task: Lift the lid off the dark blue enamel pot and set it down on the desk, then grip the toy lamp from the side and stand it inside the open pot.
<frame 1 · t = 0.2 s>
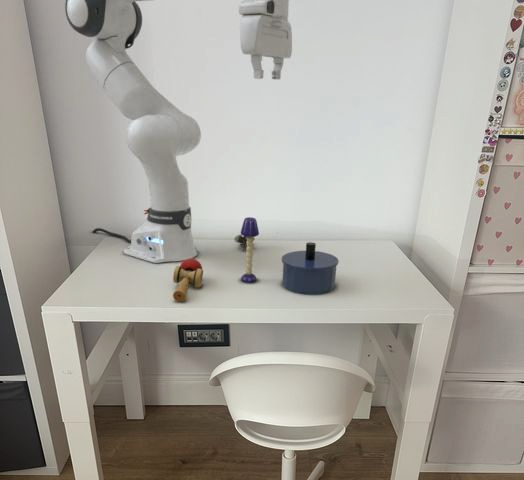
hand: (267, 79, 118), 48 cm above the table, tool pointing down, fingers open, 8 cm apart
lid: (309, 261, 129), point 6 cm above the table, touching pot
kendama: (187, 289, 128), on the table
toy lamp: (249, 281, 134), on the table
pot: (308, 284, 132), on the table
eagle figurine: (247, 248, 161), on the table
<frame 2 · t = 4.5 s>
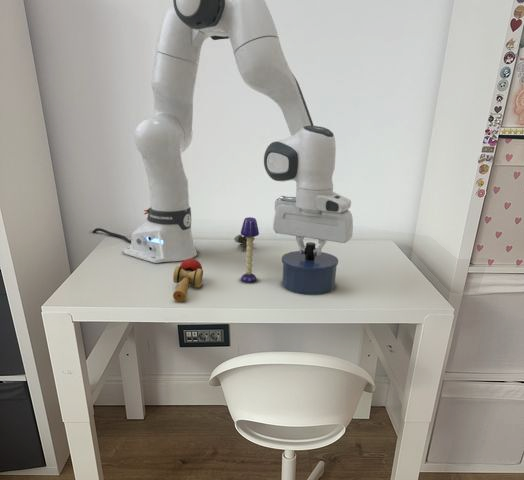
hand: (310, 254, 128), 8 cm above the table, tool pointing down, fingers closed on lid, 2 cm apart
lid: (309, 261, 129), point 7 cm above the table, touching gripper, pot
everything else where it was.
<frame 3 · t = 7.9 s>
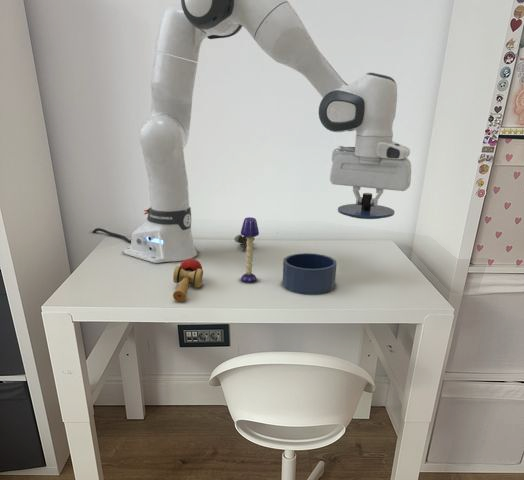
hand: (366, 205, 130), 19 cm above the table, tool pointing down, fingers closed on lid, 2 cm apart
lid: (365, 211, 130), point 18 cm above the table, touching gripper
everything else where it was.
when the fingers open (2 cm above the table, at t = 11.8 s): lid stays where it is, point 1 cm above the table.
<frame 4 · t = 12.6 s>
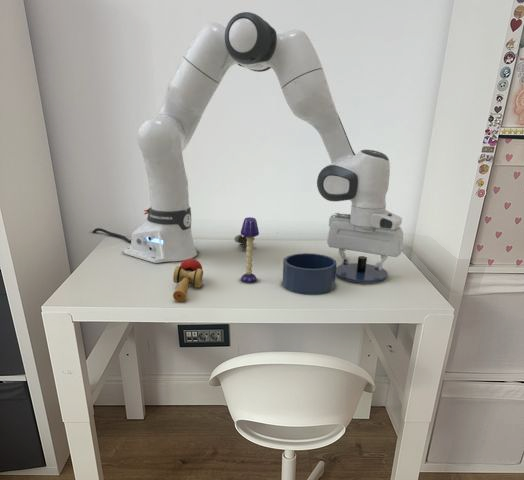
hand: (361, 267, 138), 2 cm above the table, tool pointing down, fingers open, 8 cm apart
lid: (360, 273, 139), point 1 cm above the table
everything else where it was.
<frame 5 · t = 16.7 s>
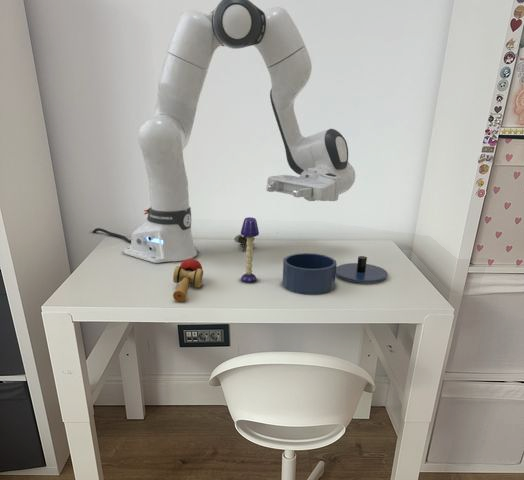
hand: (281, 191, 131), 22 cm above the table, tool horizontal, fingers open, 8 cm apart
nothing on the table moved.
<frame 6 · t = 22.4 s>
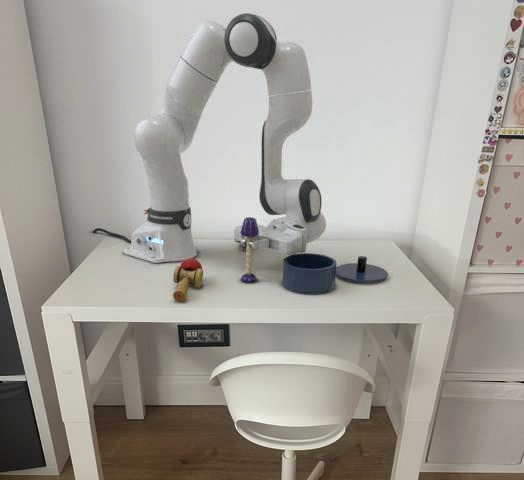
hand: (247, 244, 128), 10 cm above the table, tool horizontal, fingers closed on toy lamp
toy lamp: (249, 281, 134), on the table, touching gripper
everything else where it was.
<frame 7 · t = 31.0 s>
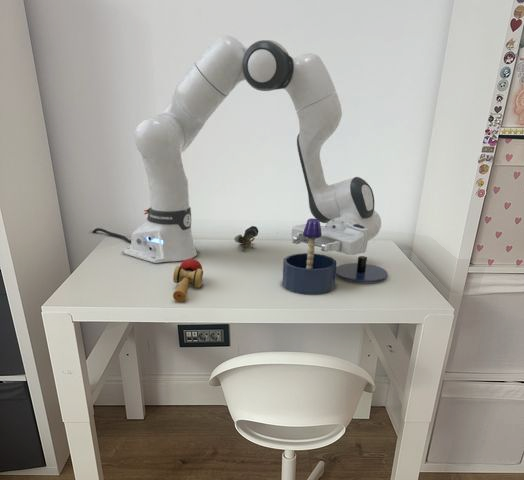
hand: (308, 244, 126), 11 cm above the table, tool horizontal, fingers open, 8 cm apart
toy lamp: (308, 283, 132), resting on pot
everything else where it was.
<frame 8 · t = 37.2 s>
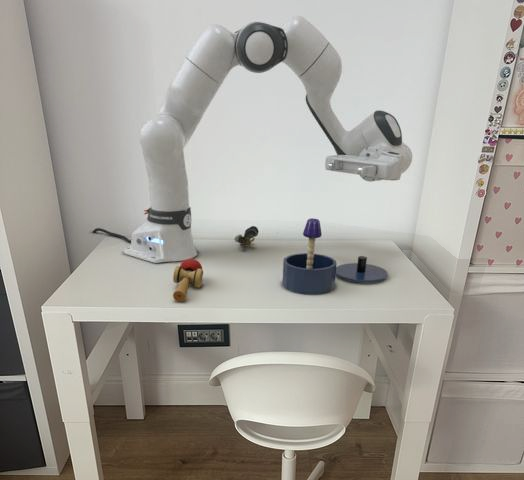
hand: (344, 169, 126), 28 cm above the table, tool horizontal, fingers open, 8 cm apart
nothing on the table moved.
at the end: lid inside the target area (0.1 cm from its centre), point 0.6 cm above the table; toy lamp inside the target area in the pot (0.1 cm from its centre), point 0.3 cm above the pot's base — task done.
